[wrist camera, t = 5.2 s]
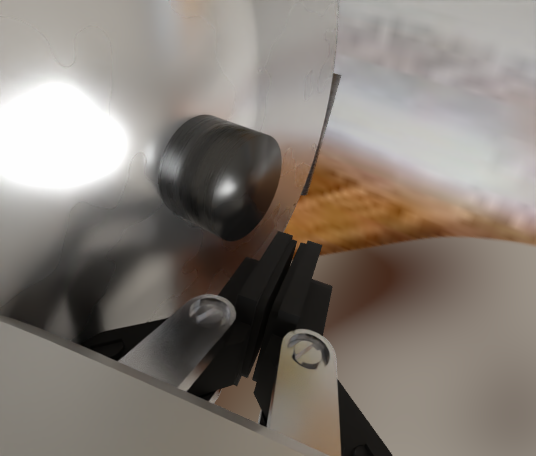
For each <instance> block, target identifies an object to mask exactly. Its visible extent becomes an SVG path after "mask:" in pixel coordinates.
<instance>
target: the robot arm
mask: <svg viewBox="0 0 536 456" xmlns="http://www.w3.org/2000/svg"><path fill="white" fill-rule="evenodd" d="M292 237H293V235H289V234H286V233H283V232H280V231H278V232H277V234H276V235H275V237H274V238H273V240H272V241H271V243H270V245H269V246H268V248H267V249H266V251H265V252H264V254H263V255H262V257H261V259H260V260H256V259H253V258H250V257H246V258H245V259H244V260H243V261H242V263H241V264H240V265H239V267H238V268H237V270H236V271H235V272H234V274H233V275H232V276H231V278H230V279H229V281H228V282H227V283H226V285H225V286H224V287H223V289H222V290H221V291H220V293H219V294H218V295H212V294H205V295H200V296H196V297H194V298H192V299H191V300H189V301H188V302H187V303H186V304H184V305H183V306H182V307H181V308H180V309H179V310H177V311H176V312H175V313H174V314H173V315H172V316H170V317H169V318H166V319H161V320H156V321H151V322H146V323H141V324H137V325H132V326H127V327H122V328H117V329H112V330H107V331H103V332H100V333H98V334H96V335H94V336H93V337H91V338H89V339H88V340H86V341H85V342H83V343H82V344H80V345H79V344H76V343H74V342H71V341H69V340H66V339H64V338H62V337H59V336H57V335H54V334H52V333H50V332H47V331H45V330H42V329H40V328H38V327H35V326H32V325H29V324H27V323H24V322H21V321H18V320H15V319H12V318H9V317H5V316H1V315H0V456H392V454H391V453H390V451H389V450H388V448H387V447H386V446H385V444H384V443H383V441H382V440H381V439H380V438H379V436H378V435H377V433H376V432H375V430H374V429H373V428H372V426H371V425H370V423H369V422H368V421H367V420H366V418H365V417H364V415H363V414H362V412H361V411H360V410H359V408H358V407H357V406H356V404H355V403H354V401H353V400H352V399H351V397H350V396H349V394H348V393H347V392H346V390H345V389H344V387H343V386H342V385H341V383H340V382H339V380H338V379H337V367H336V355H335V351H334V349H333V347H332V346H331V344H330V343H329V342H328V341H327V340H326V339H325V338H324V337H323V332H324V327H325V322H326V317H327V312H328V307H329V302H330V296H331V291H332V286H331V285H328V284H325V283H322V282H319V281H316V280H313V279H312V276H313V273H314V270H315V267H316V263H317V260H318V257H319V254H320V251H321V247H322V245H320V244H317V243H314V242H311V241H307V244H305V243H300V246H299V248H298V250H297V252H296V255H295V257H294V259H293V261H292V258H293V254H294V250H295V247H296V243H297V241H295V240H292ZM291 261H292V263H291ZM290 265H291V266H290ZM260 348H261V349H260ZM259 350H260V353H259ZM258 353H259V356H258V360H257V364H256V367H255V371H254V375H253V379H252V380H253V381H256V382H257V383H256V387H255V391H254V395H255V397H256V399H257V401H258V403H259V405H260V407H261V412H260V415H259V420H258V423H255V422H253V421H251V420H249V419H246V418H244V417H242V416H240V415H238V414H235V413H233V412H231V411H228V410H226V409H224V408H222V407H220V406H217V405H215V404H214V402H215V401H216V399H217V398H218V396H219V394H220V392H221V389H222V388H225V387H228V386H231V385H236V386H237V385H238V383H239V381H240V378H241V376H244V377H246V378H247V377H248V376H249V374H250V371H251V369H252V367H253V364H254V362H255V360H256V357H257V355H258Z"/></svg>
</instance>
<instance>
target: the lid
mask: <svg viewBox="0 0 536 456" xmlns="http://www.w3.org/2000/svg"><path fill="white" fill-rule="evenodd" d="M338 11H339V0H0V315H1V316H5V317H9V318H12V319H15V320H18V321H21V322H24V323H27V324H29V325H32V326H35V327H38V328H40V329H42V330H45V331H47V332H50V333H52V334H54V335H57V336H59V337H62V338H64V339H66V340H69V341H71V342H74V343H76V344H79V345H80V344H82V343H83V342H85V341H86V340H88V339H89V338H91V337H93V336H94V335H96V334H98V333H100V332H103V331H107V330H112V329H117V328H122V327H127V326H132V325H137V324H141V323H146V322H151V321H156V320H161V319H166V318H169V317H170V316H172V315H173V314H174V313H175V312H176V311H177V310H179V309H180V308H181V307H182V306H183V305H184V304H186V303H187V302H188V301H189V300H191V299H192V298H194V297H196V296H200V295H205V294H212V295H218V294H219V293H220V291H221V290H222V289H223V287H224V286H225V285H226V283H227V282H228V281H229V279H230V278H231V276H232V275H233V274H234V272H235V271H236V270H237V268H238V267H239V265H240V264H241V263H242V261H243V260H244V259H245V258H246V257H250V258H253V259H256V260H260V259H261V257H262V255H263V254H264V252H265V251H266V249H267V248H268V246H269V245H270V243H271V241H272V240H273V238H274V237H275V235H276V234H277V232H278V231H280V232H284V230H285V228H286V226H287V224H288V222H289V220H290V218H291V215H292V213H293V211H294V209H295V207H296V204H297V202H298V200H299V197H300V195H307V194H308V190H309V187H310V183H311V180H312V176H313V173H314V169H315V166H316V162H317V159H318V155H319V152H320V148H321V145H322V141H323V138H324V134H325V131H326V127H327V123H328V120H329V116H330V113H331V109H332V106H333V102H334V99H335V95H336V92H337V88H338V85H339V81H340V78H341V75H338V74H334V73H333V71H334V63H335V53H336V44H337V29H338Z"/></svg>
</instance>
